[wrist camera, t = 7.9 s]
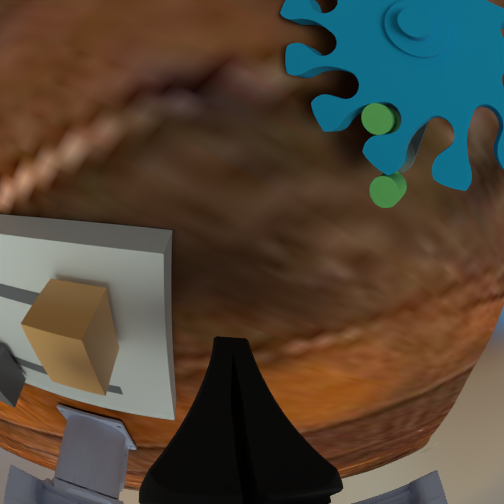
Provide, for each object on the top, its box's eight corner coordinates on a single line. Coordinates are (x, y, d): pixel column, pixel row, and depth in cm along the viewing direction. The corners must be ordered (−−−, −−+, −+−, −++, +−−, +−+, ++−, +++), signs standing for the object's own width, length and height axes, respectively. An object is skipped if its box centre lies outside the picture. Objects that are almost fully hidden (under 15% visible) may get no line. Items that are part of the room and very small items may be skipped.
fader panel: (176, 399, 20) (174, 420, 18) (-19, 344, 16) (-27, 358, 14) (172, 230, 12) (163, 254, 10) (-73, 209, 9) (-89, 221, 7)
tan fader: (119, 347, 13) (105, 396, 10) (70, 337, 12) (52, 381, 10) (106, 287, 11) (82, 340, 8) (50, 278, 10) (20, 323, 8)
